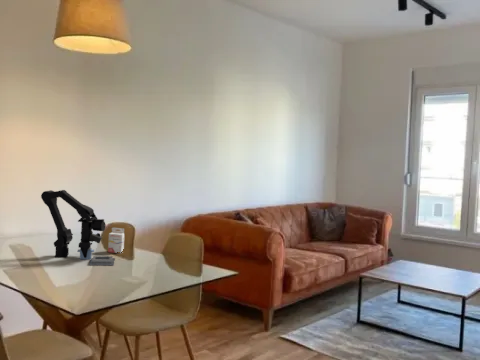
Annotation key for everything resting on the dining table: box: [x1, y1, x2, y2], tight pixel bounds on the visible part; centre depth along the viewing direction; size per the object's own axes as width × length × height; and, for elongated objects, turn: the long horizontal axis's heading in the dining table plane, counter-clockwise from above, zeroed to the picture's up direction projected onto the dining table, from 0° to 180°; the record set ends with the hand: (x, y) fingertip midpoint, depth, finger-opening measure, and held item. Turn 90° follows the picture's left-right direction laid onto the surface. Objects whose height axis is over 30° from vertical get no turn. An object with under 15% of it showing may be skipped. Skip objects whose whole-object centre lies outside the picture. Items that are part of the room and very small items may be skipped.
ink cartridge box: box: [107, 227, 125, 254], centre depth 308 cm, size 9×5×15 cm, turn 84°
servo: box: [76, 246, 95, 260], centre depth 289 cm, size 9×4×6 cm, turn 101°
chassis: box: [88, 255, 116, 266], centre depth 282 cm, size 13×13×2 cm
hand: (85, 256), depth 289 cm, fingers closed on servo, 4 cm apart
